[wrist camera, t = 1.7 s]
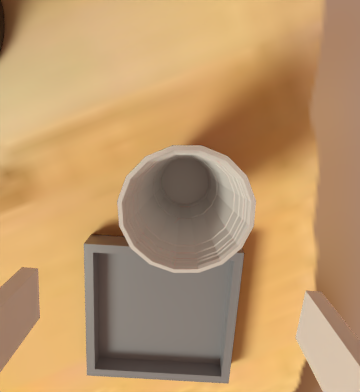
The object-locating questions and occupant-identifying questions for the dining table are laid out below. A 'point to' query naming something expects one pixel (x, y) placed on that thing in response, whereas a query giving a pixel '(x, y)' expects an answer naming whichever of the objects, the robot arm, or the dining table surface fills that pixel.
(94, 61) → the dining table surface
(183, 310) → the tray
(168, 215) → the plastic cup
